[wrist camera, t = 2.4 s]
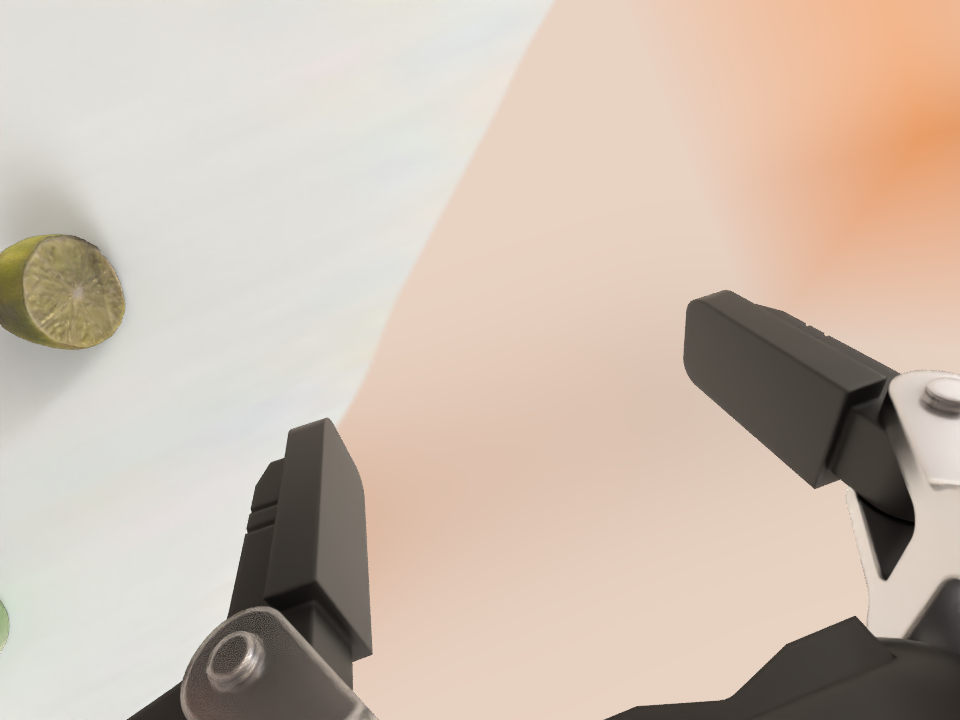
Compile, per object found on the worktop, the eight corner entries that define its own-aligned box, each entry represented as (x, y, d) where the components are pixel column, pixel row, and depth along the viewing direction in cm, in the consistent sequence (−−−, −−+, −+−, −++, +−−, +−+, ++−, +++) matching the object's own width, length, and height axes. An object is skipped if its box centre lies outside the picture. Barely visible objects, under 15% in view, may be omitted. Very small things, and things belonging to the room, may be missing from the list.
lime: (85, 225, 22) (19, 210, 17) (165, 304, 23) (124, 309, 19) (2, 282, 21) (-90, 282, 17) (90, 359, 23) (27, 379, 18)
